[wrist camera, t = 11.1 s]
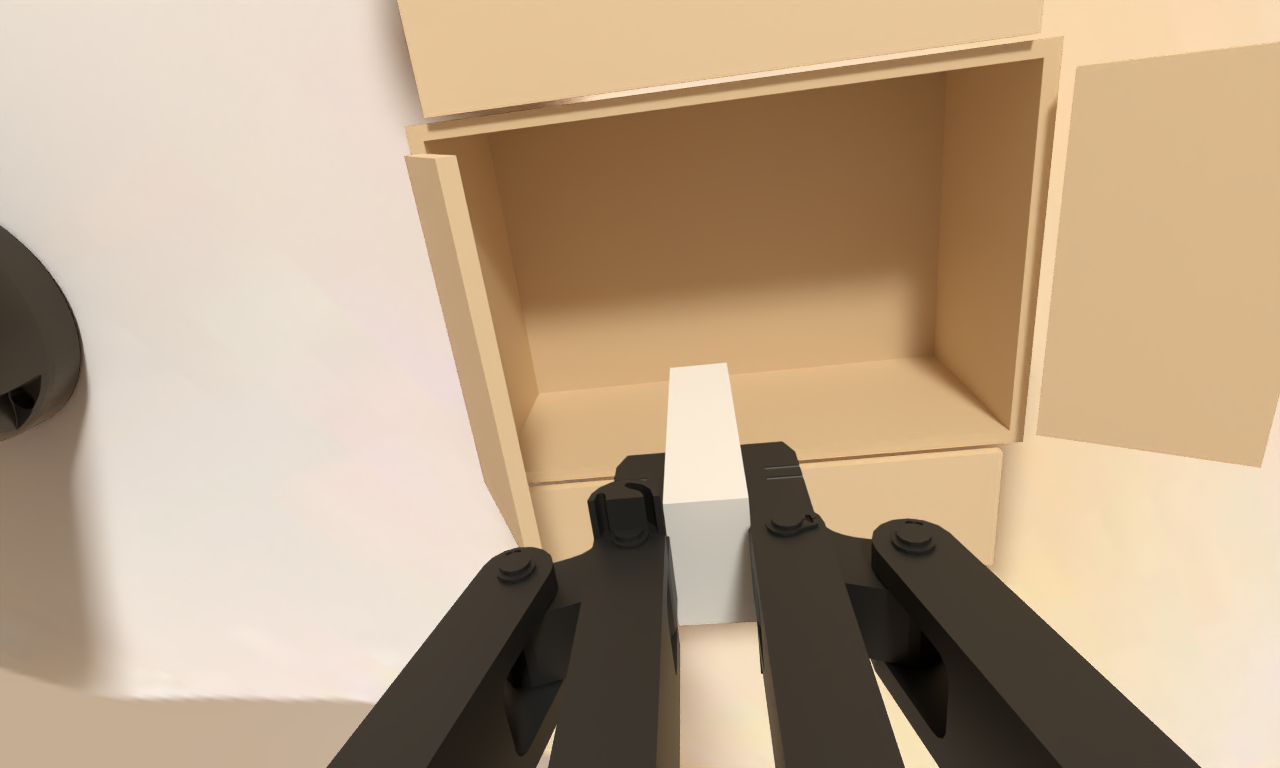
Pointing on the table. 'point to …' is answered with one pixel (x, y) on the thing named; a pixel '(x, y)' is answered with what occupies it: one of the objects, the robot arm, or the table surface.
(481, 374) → the flap
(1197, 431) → the flap
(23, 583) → the table surface
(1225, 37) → the table surface
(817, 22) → the carton
